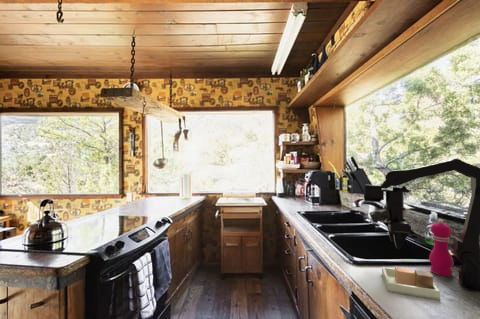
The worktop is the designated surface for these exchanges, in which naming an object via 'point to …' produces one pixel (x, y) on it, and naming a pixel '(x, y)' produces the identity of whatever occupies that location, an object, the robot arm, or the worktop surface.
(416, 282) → the walnut block
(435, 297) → the tray
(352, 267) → the worktop surface
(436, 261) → the pepper mill
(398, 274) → the peach block
